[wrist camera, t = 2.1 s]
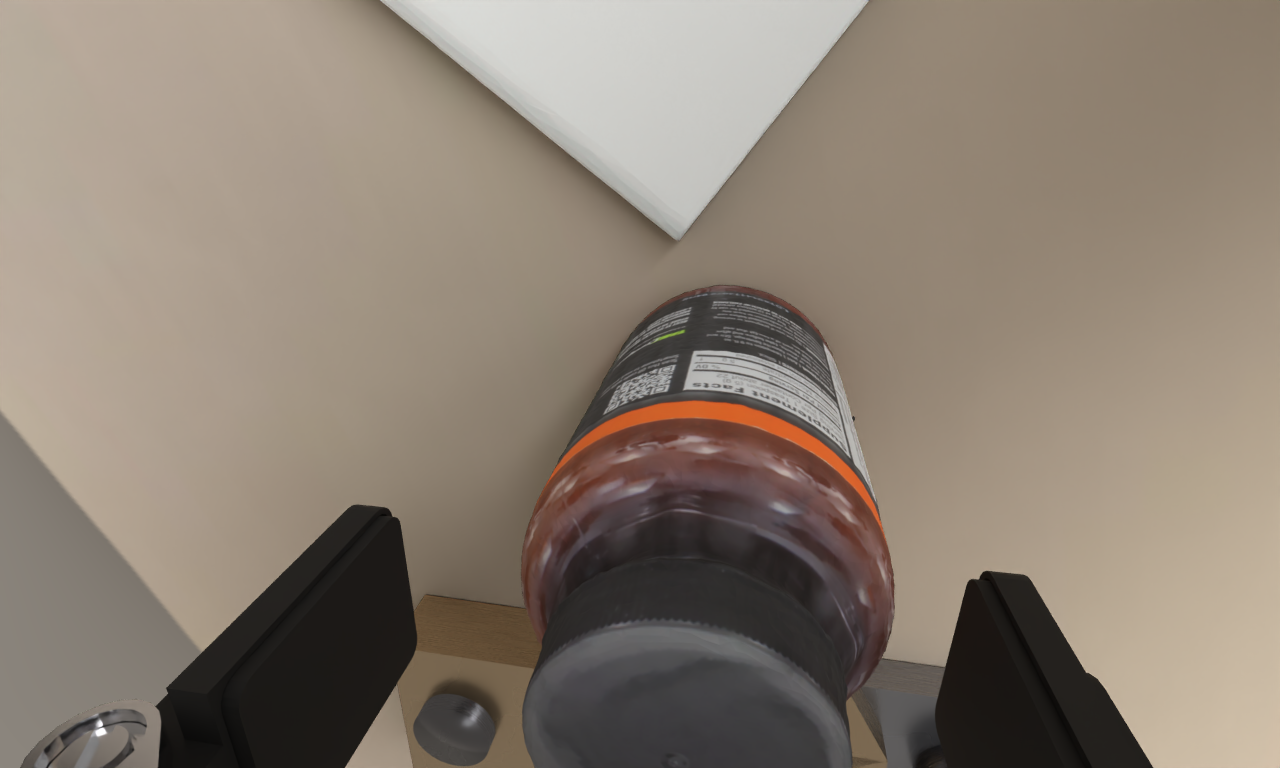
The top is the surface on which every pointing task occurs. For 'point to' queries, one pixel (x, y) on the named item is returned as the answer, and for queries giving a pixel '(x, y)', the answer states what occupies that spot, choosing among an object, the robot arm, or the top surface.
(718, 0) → the external hard drive
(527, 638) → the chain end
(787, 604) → the supplement bottle
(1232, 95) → the top surface
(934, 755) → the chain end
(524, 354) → the top surface
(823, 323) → the top surface
